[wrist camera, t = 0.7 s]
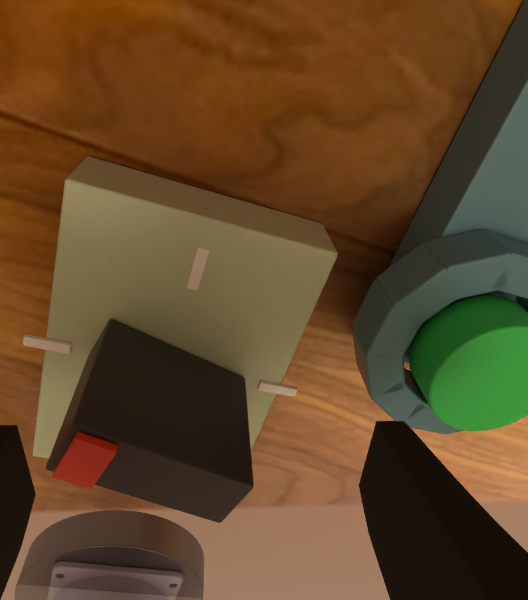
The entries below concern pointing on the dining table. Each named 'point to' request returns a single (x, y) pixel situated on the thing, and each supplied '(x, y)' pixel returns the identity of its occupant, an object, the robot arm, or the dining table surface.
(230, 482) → the dimmer knob
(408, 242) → the switch box
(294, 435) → the dining table surface
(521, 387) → the light button
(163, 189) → the dimmer panel
